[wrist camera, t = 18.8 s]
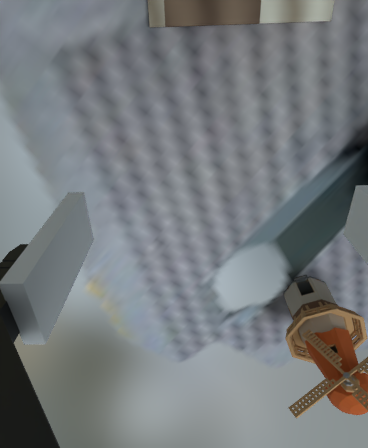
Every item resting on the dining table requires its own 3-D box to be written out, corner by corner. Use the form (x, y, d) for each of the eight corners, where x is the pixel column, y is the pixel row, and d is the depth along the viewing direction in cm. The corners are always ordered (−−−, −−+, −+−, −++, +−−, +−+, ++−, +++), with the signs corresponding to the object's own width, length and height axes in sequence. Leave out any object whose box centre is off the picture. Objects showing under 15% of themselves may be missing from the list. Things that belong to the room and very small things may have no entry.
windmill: (329, 243, 58) (445, 407, 32) (368, 285, 63) (495, 456, 37) (255, 293, 64) (302, 463, 38) (296, 327, 69) (362, 499, 44)
